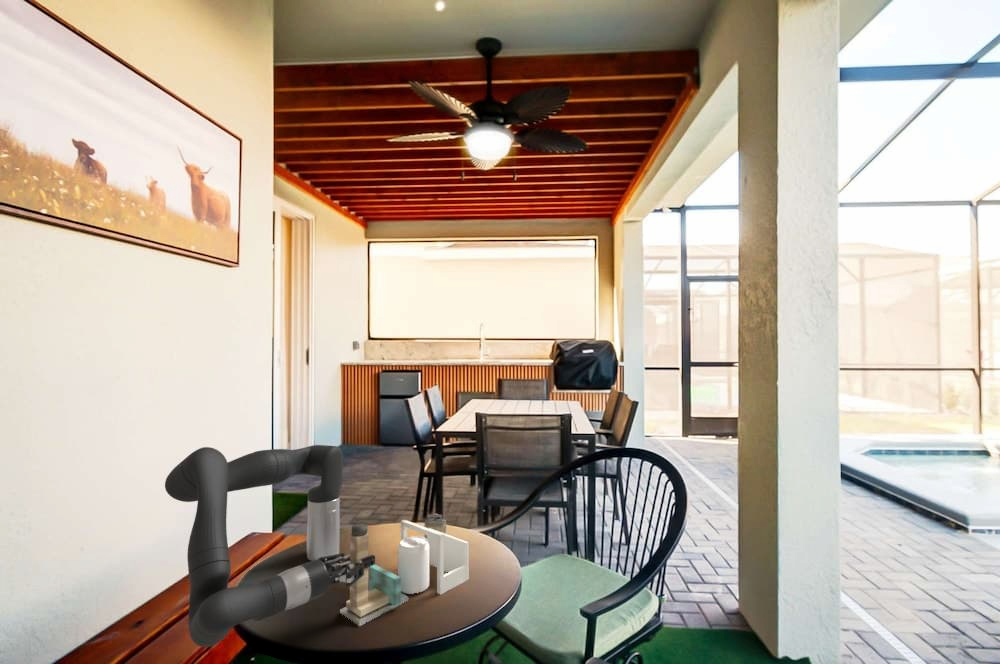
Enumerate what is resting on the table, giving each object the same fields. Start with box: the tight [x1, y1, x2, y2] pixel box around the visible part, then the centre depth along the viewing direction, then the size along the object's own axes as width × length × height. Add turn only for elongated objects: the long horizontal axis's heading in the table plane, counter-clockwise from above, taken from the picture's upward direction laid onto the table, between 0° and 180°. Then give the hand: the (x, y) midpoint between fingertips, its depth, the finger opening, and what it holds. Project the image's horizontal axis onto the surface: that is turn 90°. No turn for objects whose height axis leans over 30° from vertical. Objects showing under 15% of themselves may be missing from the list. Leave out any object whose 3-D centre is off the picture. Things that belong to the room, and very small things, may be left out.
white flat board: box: [339, 592, 409, 627], centre depth 113 cm, size 8×14×1 cm, turn 140°
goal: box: [400, 519, 470, 596], centre depth 128 cm, size 16×10×15 cm, turn 50°
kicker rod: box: [345, 523, 402, 617], centre depth 113 cm, size 11×10×19 cm
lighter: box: [423, 513, 447, 539], centre depth 148 cm, size 7×4×10 cm, turn 91°
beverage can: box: [397, 536, 430, 595], centre depth 123 cm, size 8×8×12 cm
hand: (369, 557), depth 113 cm, fingers closed on kicker rod, 3 cm apart
